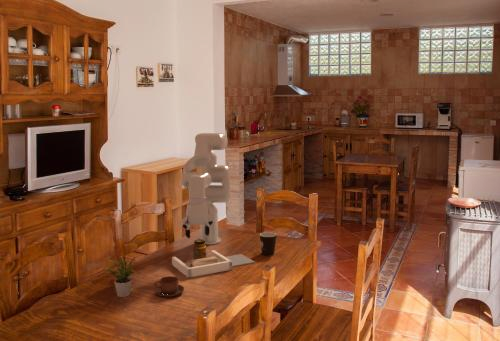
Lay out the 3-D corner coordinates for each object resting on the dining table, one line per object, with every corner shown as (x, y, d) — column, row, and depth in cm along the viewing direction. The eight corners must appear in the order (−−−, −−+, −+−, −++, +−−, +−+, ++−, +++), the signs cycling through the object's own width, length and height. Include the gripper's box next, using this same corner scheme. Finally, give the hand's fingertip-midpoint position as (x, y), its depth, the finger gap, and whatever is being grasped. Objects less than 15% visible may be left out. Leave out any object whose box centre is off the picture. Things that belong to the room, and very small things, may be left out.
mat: (220, 258, 269) (220, 257, 269) (241, 255, 274) (241, 253, 274) (232, 266, 257) (232, 265, 256) (254, 262, 262) (254, 261, 262)
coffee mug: (276, 256, 273) (276, 236, 271) (259, 256, 273) (259, 236, 271) (276, 249, 284) (276, 230, 283) (259, 249, 284) (259, 230, 283)
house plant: (128, 284, 235) (127, 248, 232) (149, 292, 226) (148, 254, 223) (100, 294, 224) (98, 256, 221) (121, 302, 215) (119, 263, 212)
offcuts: (189, 271, 251) (189, 260, 250) (216, 266, 258) (216, 255, 257) (193, 274, 247) (193, 263, 246) (221, 269, 254) (220, 258, 253)
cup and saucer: (156, 300, 217) (155, 286, 217) (153, 289, 229) (153, 275, 228) (186, 297, 221) (185, 283, 220) (181, 286, 232) (181, 273, 231)
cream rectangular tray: (172, 265, 260) (172, 257, 259) (214, 257, 270) (213, 250, 270) (188, 277, 242) (188, 269, 242) (232, 269, 253) (232, 261, 252)
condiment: (210, 264, 260) (209, 240, 258) (196, 268, 254) (195, 244, 252) (200, 261, 265) (200, 237, 263) (186, 265, 260) (186, 241, 258)
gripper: (210, 197, 262) (210, 232, 264) (176, 201, 254) (177, 236, 256) (217, 200, 256) (217, 235, 258) (182, 204, 247) (183, 240, 250)
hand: (197, 236), depth 257 cm, fingers open, 9 cm apart
